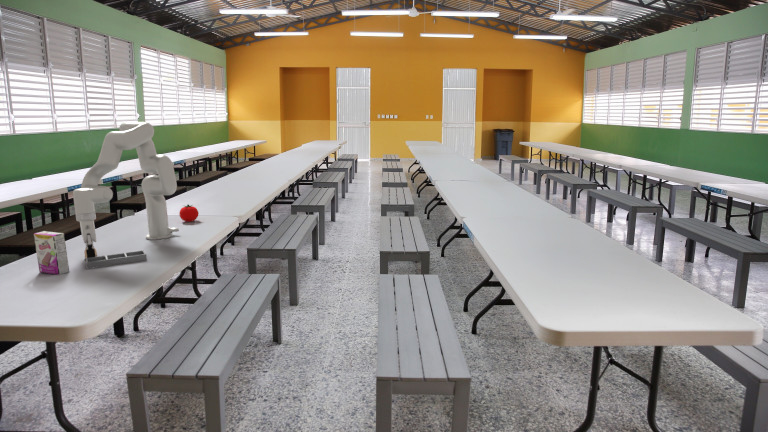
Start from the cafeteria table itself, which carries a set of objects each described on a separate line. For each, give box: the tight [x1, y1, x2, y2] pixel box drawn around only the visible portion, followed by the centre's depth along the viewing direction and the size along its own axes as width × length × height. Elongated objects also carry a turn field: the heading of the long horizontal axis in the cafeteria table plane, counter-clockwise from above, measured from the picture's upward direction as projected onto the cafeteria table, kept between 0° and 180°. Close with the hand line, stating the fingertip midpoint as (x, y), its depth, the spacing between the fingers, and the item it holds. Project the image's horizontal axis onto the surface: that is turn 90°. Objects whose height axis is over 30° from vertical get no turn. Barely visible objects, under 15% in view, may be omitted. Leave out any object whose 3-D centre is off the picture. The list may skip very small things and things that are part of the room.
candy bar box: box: [33, 230, 70, 276], centre depth 212 cm, size 11×5×16 cm, turn 71°
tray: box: [85, 249, 148, 270], centre depth 227 cm, size 23×8×3 cm, turn 121°
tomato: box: [178, 204, 199, 223], centre depth 305 cm, size 10×10×10 cm
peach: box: [83, 247, 98, 260], centre depth 233 cm, size 5×5×5 cm
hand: (91, 256), depth 234 cm, fingers closed on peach, 4 cm apart
